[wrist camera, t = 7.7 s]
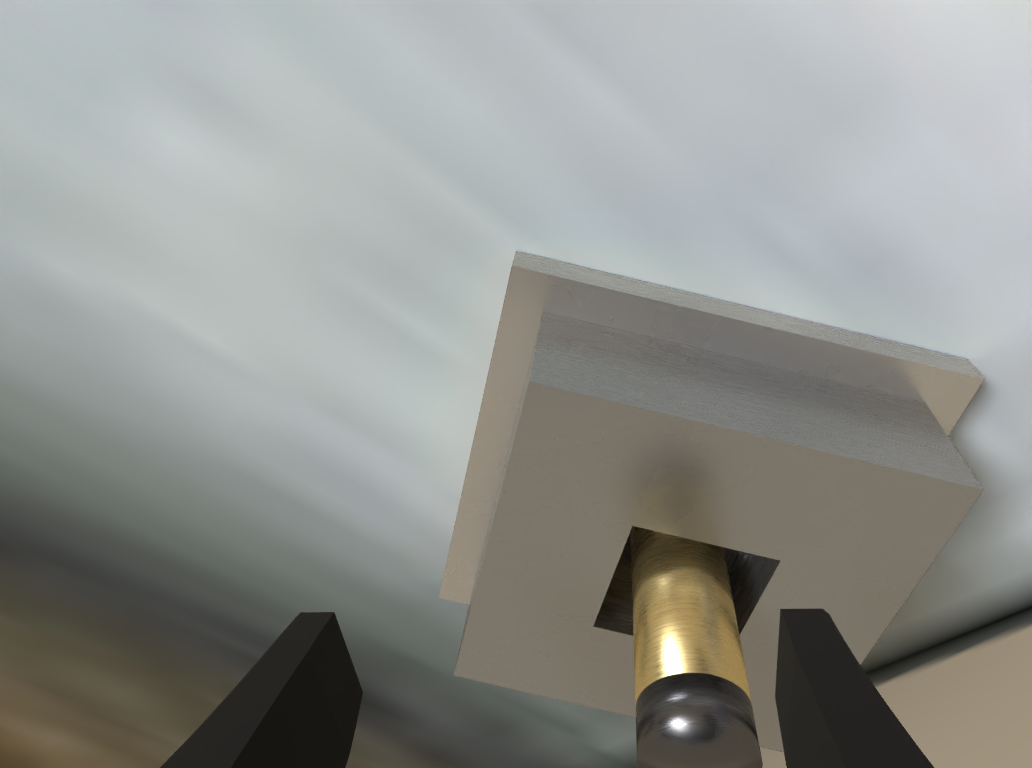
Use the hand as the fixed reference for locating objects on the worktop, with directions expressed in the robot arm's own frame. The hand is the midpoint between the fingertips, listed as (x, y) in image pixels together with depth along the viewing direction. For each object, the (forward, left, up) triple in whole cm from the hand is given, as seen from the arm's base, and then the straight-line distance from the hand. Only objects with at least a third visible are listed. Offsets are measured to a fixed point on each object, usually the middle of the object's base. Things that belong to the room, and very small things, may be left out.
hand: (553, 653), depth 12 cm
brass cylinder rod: (-4, +3, -9) cm, 10 cm away
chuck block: (-4, +3, -10) cm, 11 cm away
